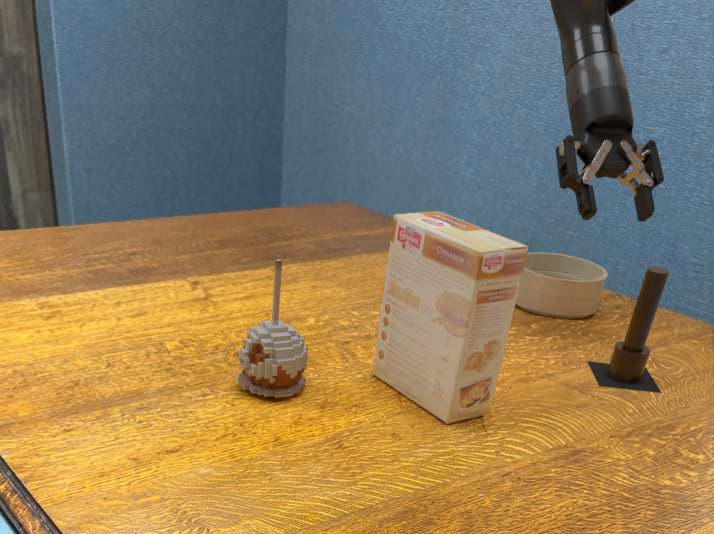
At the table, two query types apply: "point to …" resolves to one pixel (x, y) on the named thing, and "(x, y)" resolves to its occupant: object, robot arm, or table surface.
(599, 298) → the bowl
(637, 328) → the pestle
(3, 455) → the table surface
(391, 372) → the coffeecake box
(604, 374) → the coaster
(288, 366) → the decorative ornament
